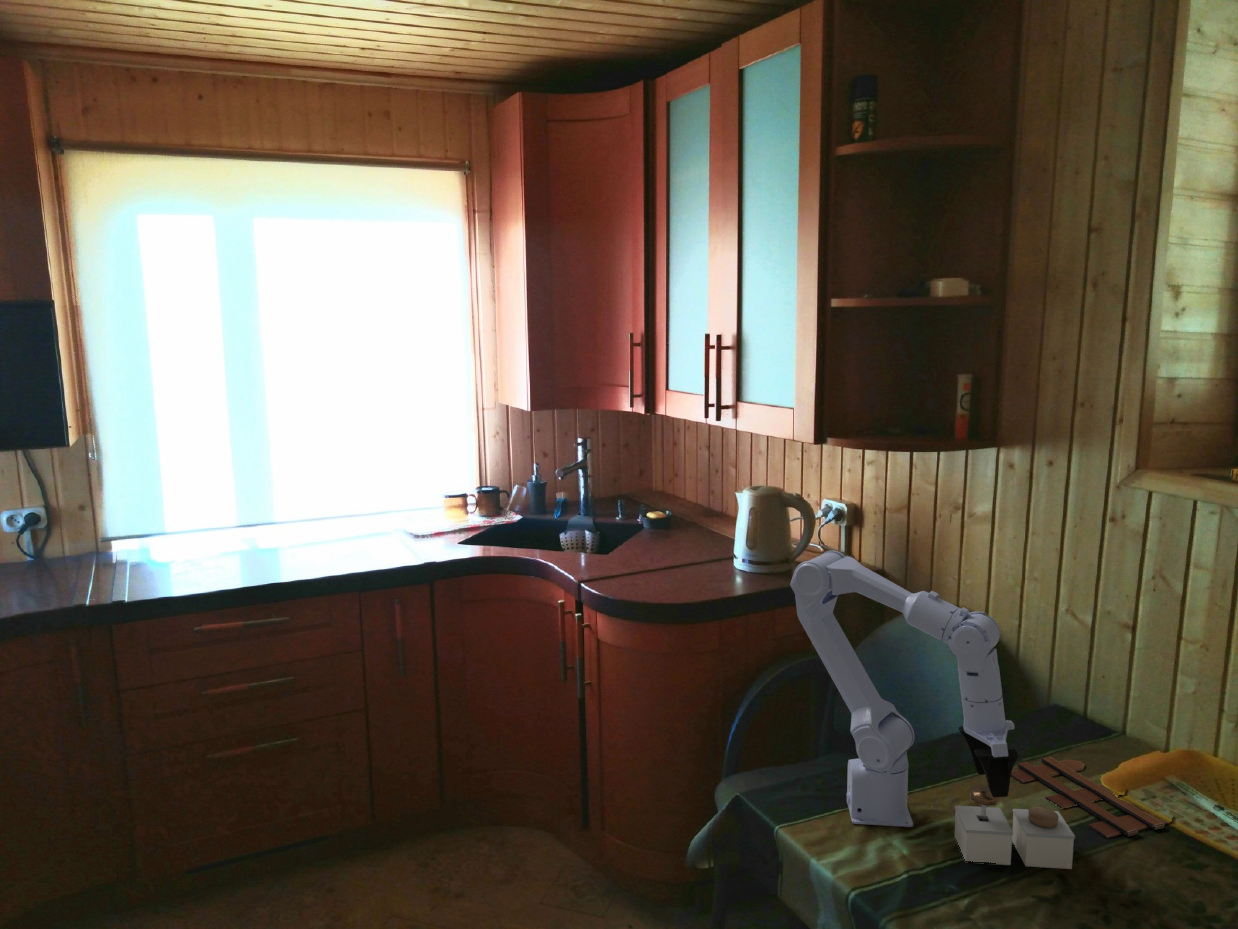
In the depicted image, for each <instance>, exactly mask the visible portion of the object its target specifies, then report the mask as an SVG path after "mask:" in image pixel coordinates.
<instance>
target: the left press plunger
mask: <svg viewBox="0 0 1238 929" xmlns="http://www.w3.org/2000/svg"><path fill="white" fill-rule="evenodd" d="M969 797H970V799H971V800H972V801H973V802H975V803H977V804H979V805H980V807H981V821H984V822H986V807H987V806H995V805H997V804H999V801H1000V797H993V796H992V794H991V792H990V789H989V786H988V785H982V784H977V785H973V786H971V787H970V788H969Z"/></svg>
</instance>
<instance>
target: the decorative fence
mask: <svg viewBox="0 0 1238 929" xmlns="http://www.w3.org/2000/svg"><path fill="white" fill-rule="evenodd" d="M1041 763H1042V764H1040V765H1035V766H1034V765H1033V764H1031V763H1029V762H1028V761H1024V762H1019V763H1017V768H1018V769H1015V770H1012V773H1011V777H1010V778H1012V777H1013V778H1012V779H1013V780H1015V781H1016V782H1018V781H1019V782H1018V783H1020V784H1022V783H1023V784H1027V783H1026V782H1028V783H1030V782H1031V781H1032V782H1036V780H1037V781H1038V782H1040V783H1042V784H1044V785H1045V786H1047V787H1049V788H1050V789H1052V790H1053V791H1054V792H1056V793H1057V794H1051V795H1047V796H1045V798H1046V799H1047V800H1049V801H1052V802H1053V803H1054V804H1057V806H1059V807H1060V808H1065V807H1067V806H1073V805H1076V804H1077V805H1079V806H1078V807H1079V808H1082V809H1083V808H1084V809H1083V810H1084V811H1086V810H1087V811H1086V812H1088V813H1089V812H1090V813H1089V814H1091V815H1093V816H1094V817H1096V818H1097V819H1099V820H1100V821H1097V822H1093V823H1089V824H1087V827H1088V826H1089V827H1090V828H1092V829H1094V830H1095V831H1096V832H1097V833H1096V832H1095V831H1094V832H1095V833H1096V834H1098V835H1099V834H1100V835H1099V836H1100V837H1103V838H1104V839H1105V840H1108V839H1112V838H1116V837H1119V836H1126V837H1128V838H1129V837H1132V836H1136V835H1138V833H1139V832H1140V831H1144V830H1145V831H1146V830H1148V829H1152V830H1153V831H1155V830H1159V829H1164V828H1165V825H1168V824H1167V822H1166V821H1163V820H1161V819H1158V818H1156V817H1155V816H1154V815H1151V814H1150V813H1147V812H1146V810H1142V809H1140V808H1139V807H1137V806H1135V805H1134V804H1132V803H1130V802H1129V801H1127V800H1125V801H1123V800H1124V799H1123V800H1120V799H1118V798H1117V797H1116V796H1115V794H1113V793H1112V792H1111V791H1109V789H1107V788H1106V787H1104V786H1103V785H1102V784H1103V783H1101V784H1098V783H1097V782H1094V781H1092V780H1091V779H1089V778H1088V777H1087V776H1084V775H1082V774H1081V773H1079V772H1083V770H1084V768H1085V765H1086V764H1085V763H1083V762H1082V761H1080V760H1076V759H1075V760H1074V759H1064V760H1059V761H1058V760H1056V759H1055V758H1054V757H1052V756H1049V757H1043V758H1041ZM1060 776H1064V777H1065V778H1067V779H1069V780H1071V781H1072V782H1073V783H1075V784H1077V785H1079V786H1081V787H1082V788H1078V789H1073V788H1070V787H1068V786H1066V784H1064V783H1062V782H1060V781H1058V779H1055V777H1060ZM1032 782H1031V783H1032ZM1046 799H1045V800H1046ZM1100 799H1104V800H1103V801H1105V802H1107V803H1108V804H1109V805H1111V806H1114V807H1115V808H1117V809H1119V810H1120V811H1122V812H1123V813H1125V814H1126V815H1122V816H1115V815H1114V814H1112V813H1111V812H1109V811H1108V810H1106V809H1104V808H1103V807H1101V806H1099V805H1098V804H1097V803H1096V802H1091V801H1096V800H1100ZM1047 800H1046V801H1047ZM1049 801H1048V802H1049ZM1126 801H1127V802H1126ZM1128 814H1129V815H1128ZM1090 828H1089V829H1090Z"/></svg>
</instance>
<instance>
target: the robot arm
mask: <svg viewBox="0 0 1238 929" xmlns="http://www.w3.org/2000/svg"><path fill="white" fill-rule="evenodd" d="M789 585H790V588H791V589H792V591H793V593H794V596H795V597H794V599H795V605H796V606H795V607H796V615H797V618H798V620H799V622H800V624H801V625H802V627H803V630H804V631H805V633H806V634H807V637H808V638H809V640H810V642H811V644H812V646H813V647H814V649H815V651H816V652H817V654H818V656H819V658H820V659H821V662H822V664H823V665H824V667H825V668H826V671H827V672H828V674H829V676H830V677H831V679H832V681H833V683H834V684H835V687H836V688H837V690H838V692H839V694H840V696H841V697H842V699H843V701H844V703H845V705H846V706H847V708H848V710H849V712H850V714H851V719H850V721H851V722H850V734H851V736H852V737H853V739H854V742H855V750H856V754H857V756H858V758H852V759H848V762H847V776H846V777H847V778H846V779H847V780H846V782H847V784H846V787H847V790H846V804H847V807H848V811H849V816H850V820H851V823H852V824H855V825H867V826H868V825H869V826H871V825H873V826H887V827H904V828H913V827H914V822H913V819H912V816H911V814H910V810H909V808H908V789H909V788H908V784H909V782H908V781H909V779H908V778H909V760H908V754H907V753H908V750H909V749H910V748H911V747H912V746H913V745H914V741H915V732H914V728H913V726H912V724H911V723H910V722H909V721H908V719H907V718H905V717H904V716H902V715H901V714H900V713H899V711H898V710H897V709H896V707H895V705H894V704H893V703H892V702H890V701H888V700H885V699H883V698H882V697H881V695H880V694H879V691H878V690H877V689H876V687H875V685H874V684H873V682H872V680H871V678H870V676H869V674H868V673H867V671H866V669H865V667H864V666H863V664H862V662H861V661H860V659H859V657H858V655H857V654H856V652H855V650H854V648H853V647H852V645H851V643H850V641H849V639H848V638H847V635H846V634H845V632H844V631H843V629H842V626H841V625H840V623H839V622H838V619H836V616H835V614H834V610H835V606H836V603H837V600H838V597H839V595H844V594H850V593H857V594H859V595H862V596H864V597H865V598H866V597H867V598H869V599H871V600H873V601H875V602H876V603H880V604H882V605H885V606H887V607H888V608H891V609H893V610H896V611H898V612H900V613H902V615H903V617H904V619H905V621H906V623H907V624H908V625H909V626H911V627H914V628H916V629H917V630H919V631H921V632H923V633H924V634H927V635H929V636H931V637H933V638H935V639H937V640H939V641H941V642H942V643H944V644H946V645H948V647H949V649H950V651H951V652H952V653H953V655H954V656H955V657H956V660H957V673H958V681H959V689H960V698H961V706H962V712H963V713H962V715H963V723H962V724H963V725H961V726H959V727H958V730H959V732H960V733H961V735H962V737H963V739H964V740H965V743H966V745H967V747H968V750H969V753H970V756H971V759H972V763H973V765H974V768H975V770H976V772H977V775H978V776H979V775H981V776H982V775H985V779H986V782H987V786H989V789H990V792H991V794H992V796H993V797H999V798H1004V797H1005V798H1006V797H1009V791H1010V786H1011V785H1010V783H1011V778H1012V777H1011V773H1012V771H1013V769H1014V767H1015V764H1016V762H1017V760H1019V759H1018V758H1019V753H1018V751H1017V750H1016V749H1015V748H1012V749H1011V748H1010V749H1008V743H1007V736H1008V732H1009V731H1012V730H1015V729H1016V728H1015V723H1014V722H1013V721H1012V720H1008V719H1007V720H1006V716H1005V707H1004V699H1003V689H1002V688H1003V687H1002V681H1001V674H1000V665H999V661H998V660H999V659H998V652H997V650H998V649H997V648H995V647H996V646H997V644H998V642H999V641H1000V637H1001V629H1000V627H999V625H998V623H997V622H996V620H994V618H993V617H991V616H990V615H988V614H987V613H986V612H984V611H977V610H975V611H971V612H970V609H968V608H966V607H964V606H963V607H962V608H961V607H958V606H956V605H954V604H952V603H951V602H948V601H946V600H944V599H942V598H940V593H937V592H935V591H933V590H931V591H930V592H928V591H925V590H922V591H918V592H915V593H913V592H910V591H909V590H907V589H905V588H903V587H901V586H900V585H898V584H896V583H894V582H893V581H890V580H889V579H888V578H886V577H884V576H882V575H880V574H878V573H877V572H875V571H873V570H870V569H869V568H868V567H866V566H864V565H862V564H861V563H860V562H858V560H856V559H855V558H854V557H852V556H849V555H848V556H845V554H843V553H842V552H840V551H838V550H827V551H824V552H823V553H822V554H820V555H818V556H816V557H814V558H811V559H809V560H806V561H803V562H801V563H799V564H798V565H797V566H796V567H795V569H794V571H793V574H792V578H791V581H790V583H789Z"/></svg>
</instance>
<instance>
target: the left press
mask: <svg viewBox="0 0 1238 929" xmlns="http://www.w3.org/2000/svg"><path fill="white" fill-rule="evenodd" d="M954 810H955V815H954V816H955V818H954V839H955V838H956V840H957V842H958V844H957V846H958V845H959V847H960V849H961V851H960V853H961V852H962V854H963V856H962V858H963V857H964V858H963V860H964V859H965V861H971V862H972V861H973V862H989V863H990V862H991V863H996V864H995V865H998V866H999V865H1003V866H1011V864H1012V862H1011V861H1012V844H1013V842H1012V836H1013V828H1011V826H1010V824H1009V822H1008V820H1007V819H1006V816H1005V815H1004V813H1003V811H1002V810H1001V808H1000V807H989V806H986V822H984V821H981V806H971V805H954ZM956 840H955V841H956ZM957 842H956V843H957ZM959 847H958V848H959ZM960 849H959V850H960ZM962 854H961V855H962ZM965 861H964V862H965Z"/></svg>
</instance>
